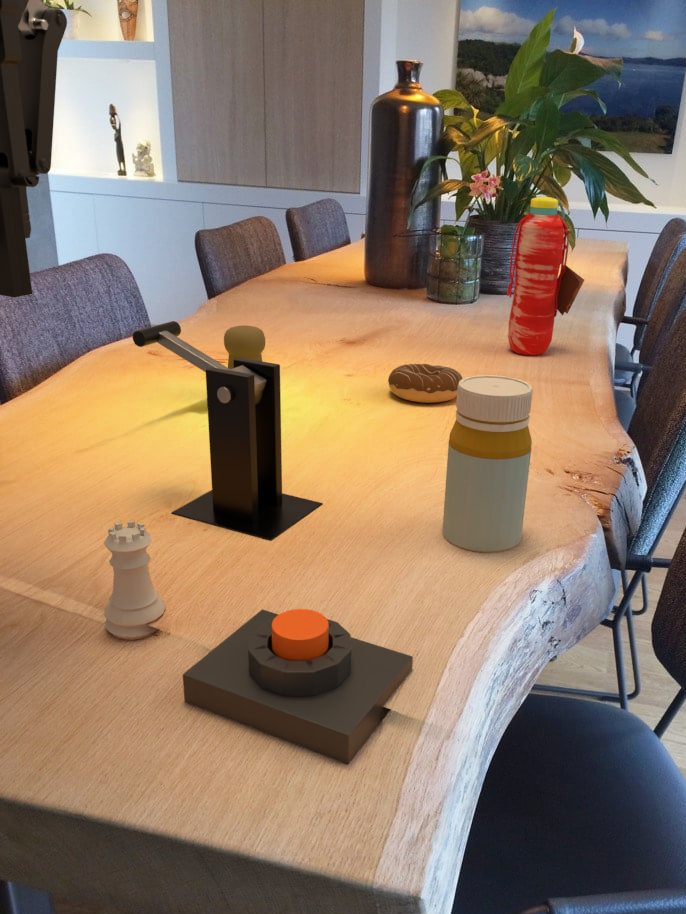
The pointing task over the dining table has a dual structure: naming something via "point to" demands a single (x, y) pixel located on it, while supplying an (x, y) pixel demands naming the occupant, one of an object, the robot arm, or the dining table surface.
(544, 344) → the water bottle
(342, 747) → the control block
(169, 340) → the lever
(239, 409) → the bracket
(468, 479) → the bottle
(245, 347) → the cork
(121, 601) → the rook chess piece
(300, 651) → the button
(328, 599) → the dining table surface
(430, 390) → the donut
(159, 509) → the dining table surface
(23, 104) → the robot arm
